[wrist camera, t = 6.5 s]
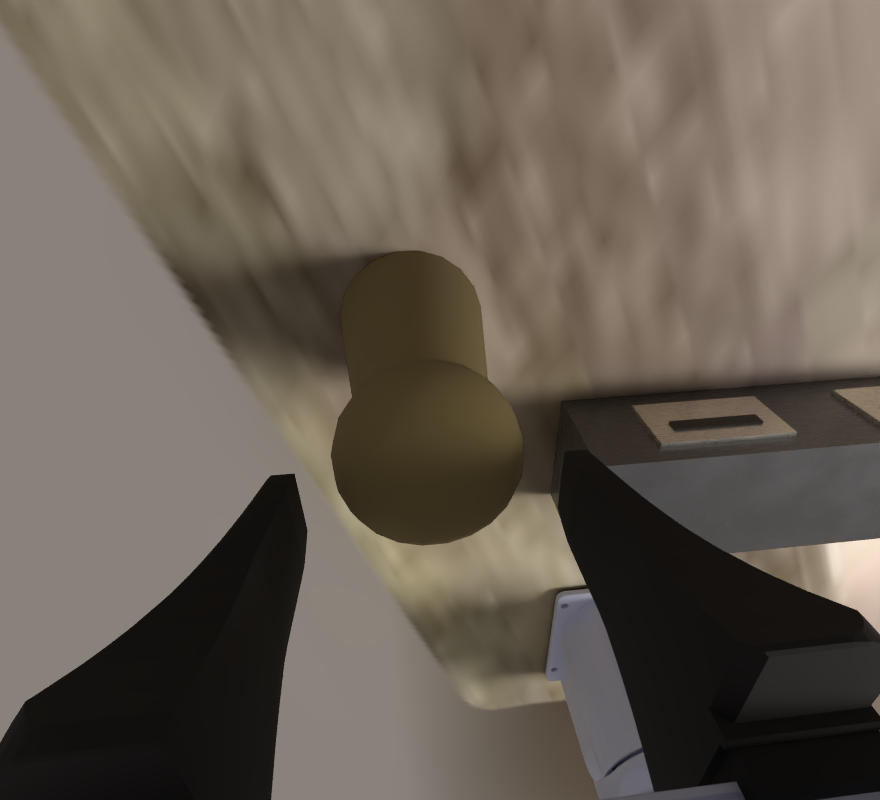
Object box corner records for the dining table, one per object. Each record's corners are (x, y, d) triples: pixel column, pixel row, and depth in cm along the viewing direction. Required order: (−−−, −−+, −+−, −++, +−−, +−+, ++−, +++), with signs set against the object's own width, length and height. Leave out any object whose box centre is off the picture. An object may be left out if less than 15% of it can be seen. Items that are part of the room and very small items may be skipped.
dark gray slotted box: (925, 461, 29) (1016, 524, 25) (550, 494, 28) (581, 567, 24) (983, 364, 26) (1100, 418, 22) (562, 396, 25) (600, 461, 20)
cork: (310, 327, 22) (256, 512, 12) (405, 217, 20) (427, 338, 10) (416, 405, 24) (438, 607, 15) (510, 315, 22) (603, 482, 13)
